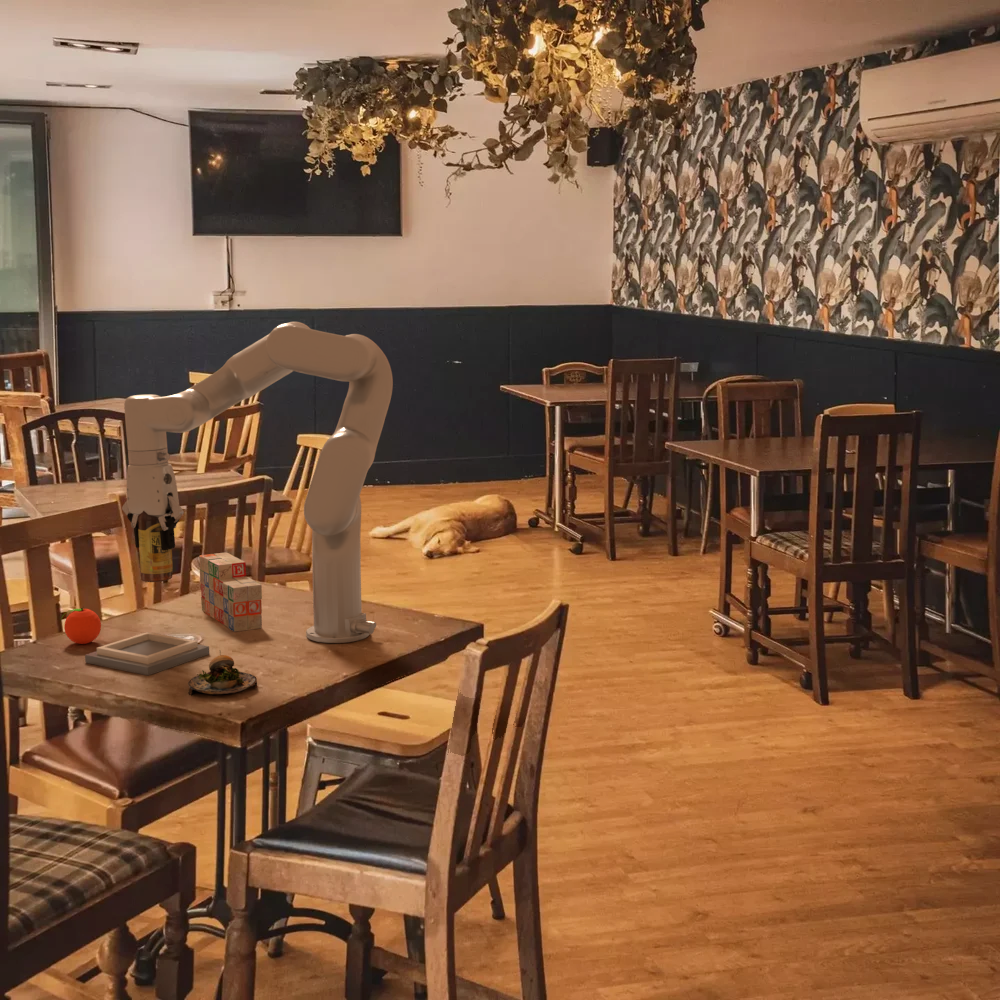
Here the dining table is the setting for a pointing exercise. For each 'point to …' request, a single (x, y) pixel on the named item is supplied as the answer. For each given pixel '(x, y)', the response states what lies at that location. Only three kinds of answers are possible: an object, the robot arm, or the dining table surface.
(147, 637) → the slate coaster board
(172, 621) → the dining table surface
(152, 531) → the sauce bottle
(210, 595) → the stack of blocks
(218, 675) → the burger
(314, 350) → the robot arm
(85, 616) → the clementine
